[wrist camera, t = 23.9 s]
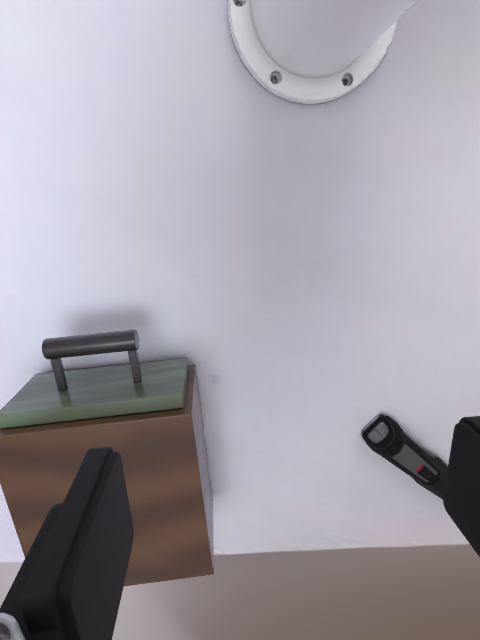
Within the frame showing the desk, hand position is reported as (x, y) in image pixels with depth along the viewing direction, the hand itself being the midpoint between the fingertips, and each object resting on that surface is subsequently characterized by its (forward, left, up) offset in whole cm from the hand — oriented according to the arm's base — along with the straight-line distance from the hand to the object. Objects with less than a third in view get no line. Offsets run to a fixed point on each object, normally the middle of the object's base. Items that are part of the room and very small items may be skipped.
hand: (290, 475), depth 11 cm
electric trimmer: (+27, +8, -25) cm, 38 cm away
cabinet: (+9, -17, -25) cm, 32 cm away
